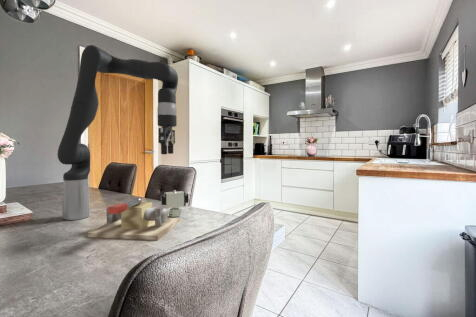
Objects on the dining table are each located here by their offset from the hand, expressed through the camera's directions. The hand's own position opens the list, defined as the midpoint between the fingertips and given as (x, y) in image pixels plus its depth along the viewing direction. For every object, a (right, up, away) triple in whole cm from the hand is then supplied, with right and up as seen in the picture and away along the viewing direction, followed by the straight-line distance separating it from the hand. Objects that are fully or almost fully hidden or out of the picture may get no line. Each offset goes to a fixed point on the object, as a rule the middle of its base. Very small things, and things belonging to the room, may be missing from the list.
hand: (167, 154), depth 98 cm
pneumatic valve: (+1, -28, +9) cm, 30 cm away
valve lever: (-10, -19, -15) cm, 26 cm away
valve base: (-9, -29, -7) cm, 31 cm away
